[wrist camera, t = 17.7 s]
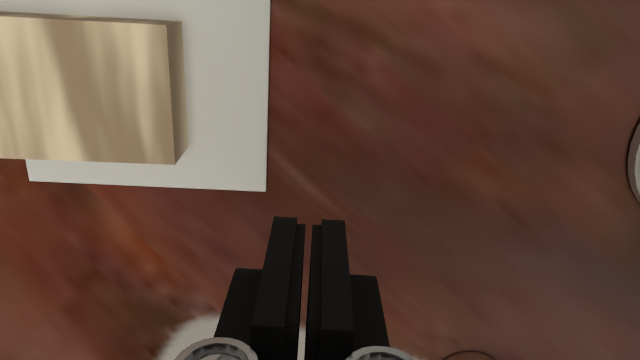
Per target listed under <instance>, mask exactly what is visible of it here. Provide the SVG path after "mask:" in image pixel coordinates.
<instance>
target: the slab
mask: <svg viewBox="0 0 640 360" xmlns="http://www.w3.org/2000/svg"><path fill="white" fill-rule="evenodd" d="M187 148H188V132H187V112H186V93H185V74H184V55H183V36H182V21H171V20H153V19H134V18H115V17H97V16H78V15H59V14H41V13H22V12H4V11H0V158H10V159H36V160H62V161H88V162H114V163H140V164H167V165H175V164H176V163H177V162H178V160H179V159H180V158H181V156H182V155H183V153H184V152H185V151H186V149H187Z"/></svg>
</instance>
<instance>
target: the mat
mask: <svg viewBox="0 0 640 360" xmlns="http://www.w3.org/2000/svg"><path fill="white" fill-rule="evenodd" d="M270 5H271V0H0V11H4V12H22V13H41V14H59V15H78V16H97V17H115V18H134V19H153V20H171V21H182V36H183V55H184V74H185V93H186V112H187V132H188V148H187V149H186V151H185V152H184V153H183V155H182V156H181V158H180V159H179V160H178V162H177V163H176V164H175V165H167V164H140V163H114V162H88V161H62V160H36V159H26V165H27V170H28V176H29V181H43V182H65V183H87V184H109V185H131V186H153V187H175V188H197V189H219V190H241V191H263V192H266V174H267V132H268V89H269V47H270Z"/></svg>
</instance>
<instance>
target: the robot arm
mask: <svg viewBox="0 0 640 360" xmlns="http://www.w3.org/2000/svg"><path fill="white" fill-rule="evenodd" d="M628 177H629V181H630V185H631V189H632V191H633V193H634V195H635V197H636V198H637V200H638V202H639V203H640V123H639V125H638V126H637V128H636V131H635V134H634V136H633V139H632V142H631V144H630V150H629V156H628ZM304 241H305V224H297V218H291V217H274V220H273V225H272V229H271V234H270V238H269V243H268V248H267V252H266V257H265V261H264V266H263V269H246V268H236V269H235V272H234V275H233V278H232V281H231V284H230V287H229V290H228V294H227V297H226V300H225V303H224V306H223V309H222V313H221V316H220V319H219V322H218V325H217V329H216V332H215V335H214V338H209V339H204V340H201V341H199V342H196V343H194V344H192V345H190V346H189V347H187V348H186V349H184V350H183V351H182V352H181V353H180V354H179V355H178V356H177V357H176V359H175V360H297V354H298V339H299V325H300V309H301V292H302V275H303V258H304ZM304 360H414V359H413V358H412V357H411V356H409V355H407V354H405V353H403V352H401V351H400V350H397V349H393V348H390V346H389V341H388V335H387V330H386V325H385V319H384V314H383V309H382V304H381V298H380V293H379V288H378V282H377V278H376V276H367V275H350V273H349V262H348V252H347V241H346V231H345V221H341V220H324V219H322V223H321V225H313V228H312V243H311V258H310V273H309V289H308V304H307V320H306V337H305V357H304Z"/></svg>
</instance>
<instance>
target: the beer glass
mask: <svg viewBox="0 0 640 360" xmlns="http://www.w3.org/2000/svg"><path fill="white" fill-rule="evenodd" d="M445 360H494V359H492V358H491V357H490V356H488V355H486V354H483V353H479V352H461V353H457V354H454V355H452V356H450V357H448V358H446V359H445Z"/></svg>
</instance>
